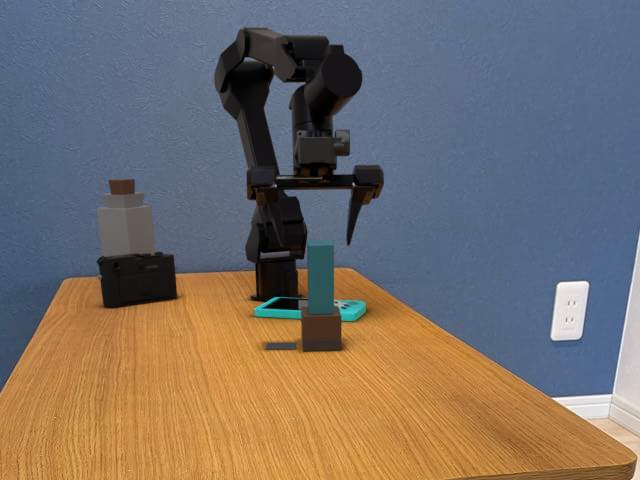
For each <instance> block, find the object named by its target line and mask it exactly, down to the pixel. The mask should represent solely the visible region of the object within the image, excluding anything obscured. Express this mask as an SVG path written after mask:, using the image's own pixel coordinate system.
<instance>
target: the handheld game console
mask: <svg viewBox="0 0 640 480" xmlns="http://www.w3.org/2000/svg"><path fill="white" fill-rule="evenodd" d="M334 306H338V307H339V310H340V313H341V322H356V321H357V320H358V319H360V318H361V317H362V316H363V315H365V313H366V311H367V303H366V302H365V301H364V300H356V299H355V300H354V299H336V298H334ZM301 307H308V297H298V298H287V297H274V298H273V299H271V300H269V301H266V302H264V303H262V304H260V305H258V306H256V307H255V308H254V317H257V318H276V319H277V318H278V319H298V320H301Z"/></svg>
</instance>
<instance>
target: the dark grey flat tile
mask: <svg viewBox="0 0 640 480" xmlns="http://www.w3.org/2000/svg"><path fill="white" fill-rule="evenodd" d="M297 344H298V342H297V341H295V342H288V341H287V342H286V341H285V342H267V343H266V346H265V350H266V351H267V350H297Z"/></svg>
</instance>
